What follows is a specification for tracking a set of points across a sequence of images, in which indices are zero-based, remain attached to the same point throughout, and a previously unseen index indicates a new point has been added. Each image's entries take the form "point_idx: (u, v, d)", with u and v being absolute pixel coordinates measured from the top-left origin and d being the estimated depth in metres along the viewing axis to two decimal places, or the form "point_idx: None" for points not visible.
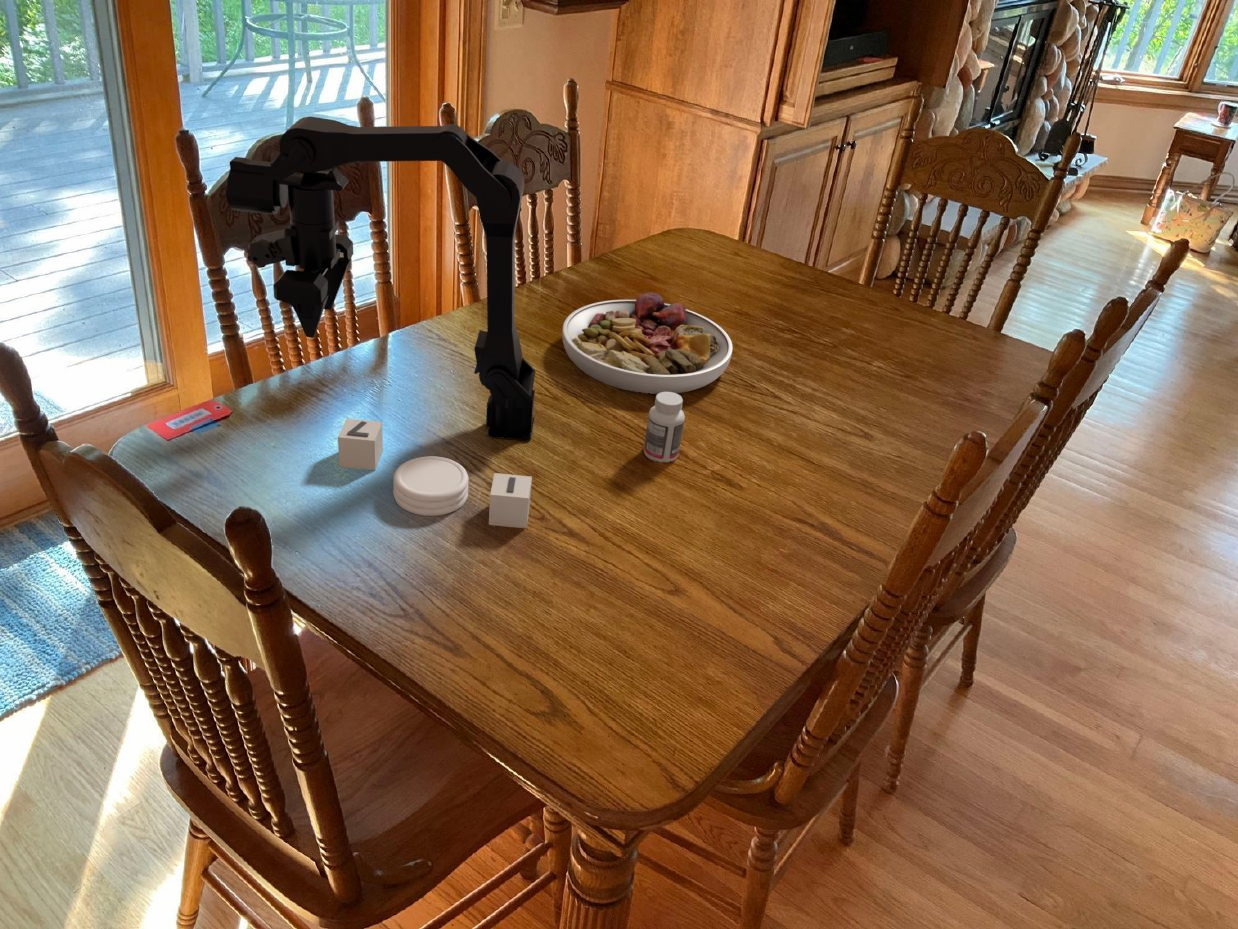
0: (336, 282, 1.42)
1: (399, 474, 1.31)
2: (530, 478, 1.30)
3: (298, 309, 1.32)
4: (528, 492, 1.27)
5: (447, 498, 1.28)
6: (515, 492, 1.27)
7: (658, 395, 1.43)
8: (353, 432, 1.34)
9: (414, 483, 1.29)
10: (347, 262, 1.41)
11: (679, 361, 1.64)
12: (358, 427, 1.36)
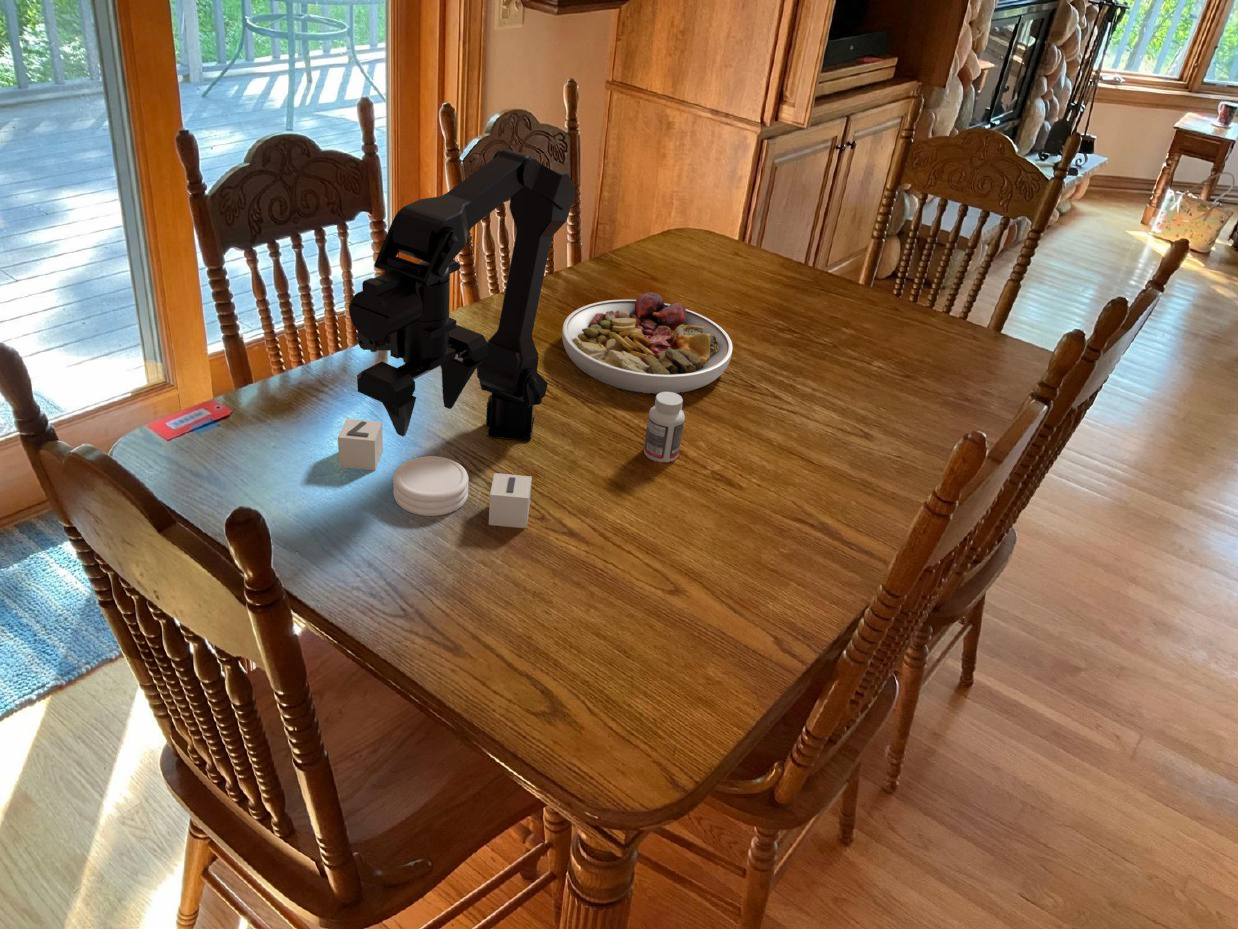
0: (458, 382, 1.28)
1: (399, 474, 1.31)
2: (530, 478, 1.30)
3: (386, 405, 1.21)
4: (528, 492, 1.27)
5: (447, 498, 1.28)
6: (514, 492, 1.27)
7: (658, 395, 1.43)
8: (353, 432, 1.34)
9: (414, 483, 1.29)
10: (474, 364, 1.27)
11: (679, 361, 1.64)
12: (358, 427, 1.36)
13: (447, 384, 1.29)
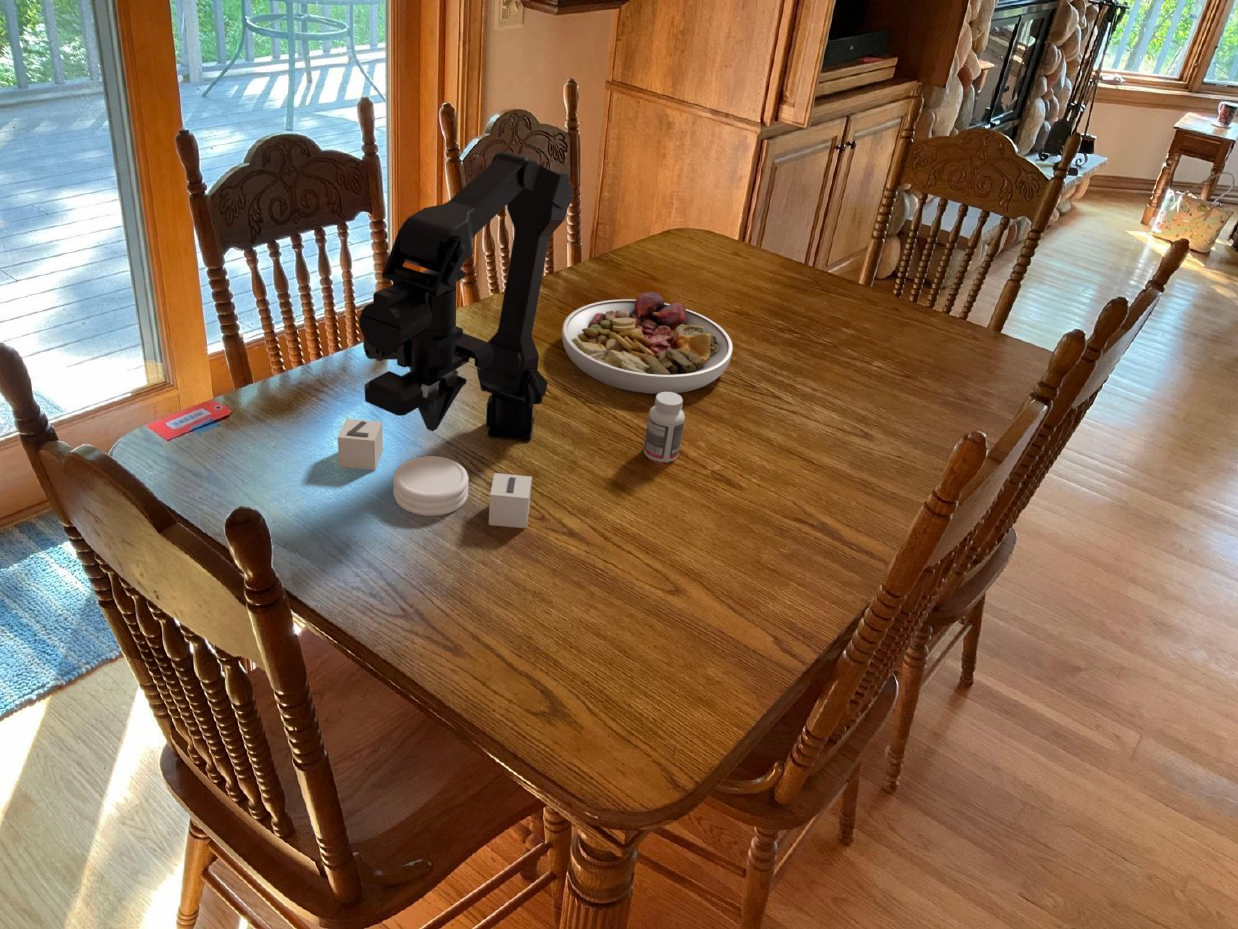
0: None
1: (399, 474, 1.31)
2: (530, 478, 1.30)
3: None
4: (528, 492, 1.27)
5: (447, 498, 1.28)
6: (515, 492, 1.27)
7: (658, 395, 1.43)
8: (353, 432, 1.34)
9: (414, 483, 1.29)
10: (459, 384, 1.24)
11: (679, 361, 1.64)
12: (358, 427, 1.36)
13: None
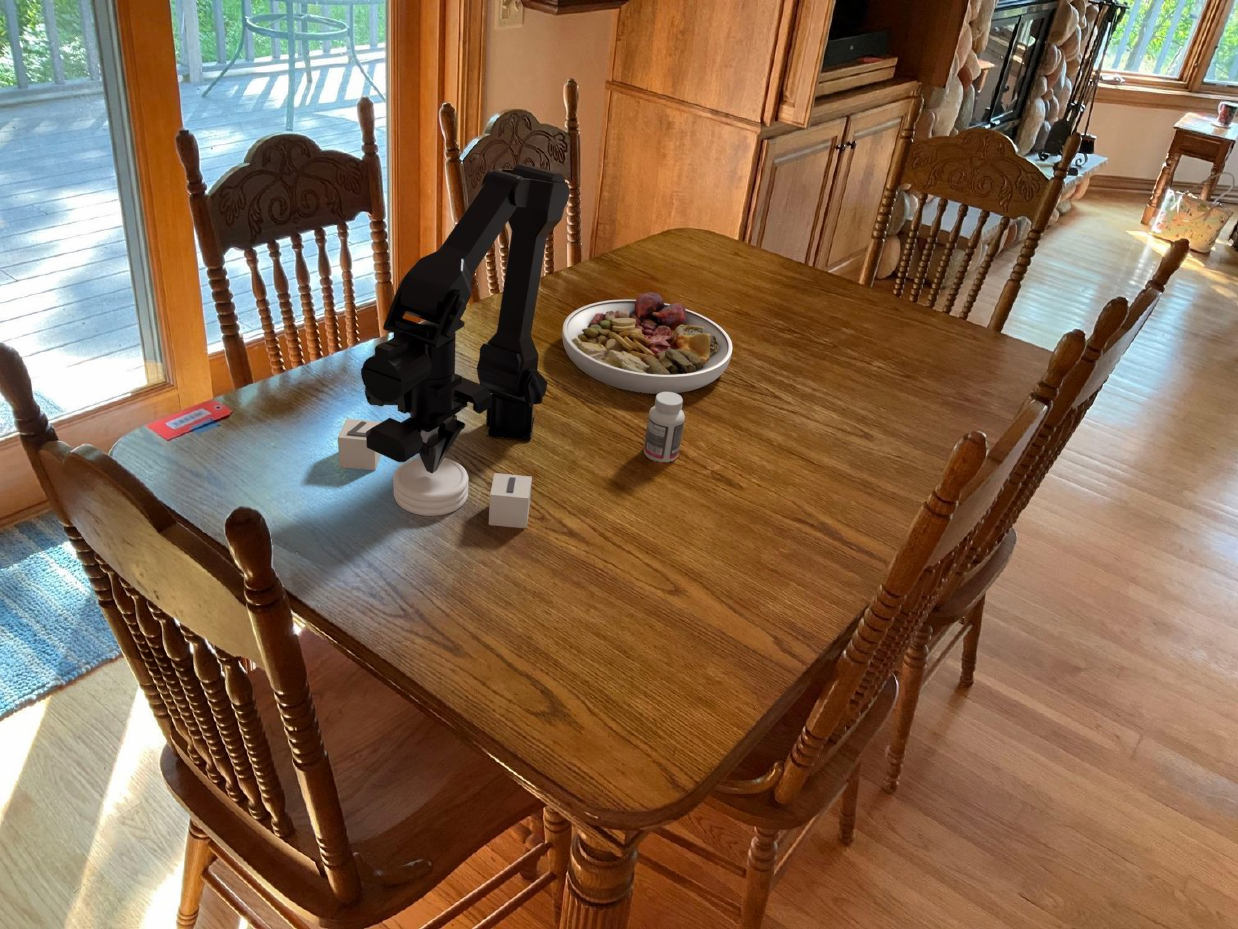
0: (442, 446, 1.28)
1: (399, 474, 1.31)
2: (530, 478, 1.30)
3: None
4: (528, 492, 1.27)
5: (447, 498, 1.28)
6: (515, 492, 1.27)
7: (658, 395, 1.43)
8: (353, 432, 1.34)
9: (414, 483, 1.29)
10: (458, 428, 1.27)
11: (679, 361, 1.64)
12: (358, 427, 1.36)
13: None
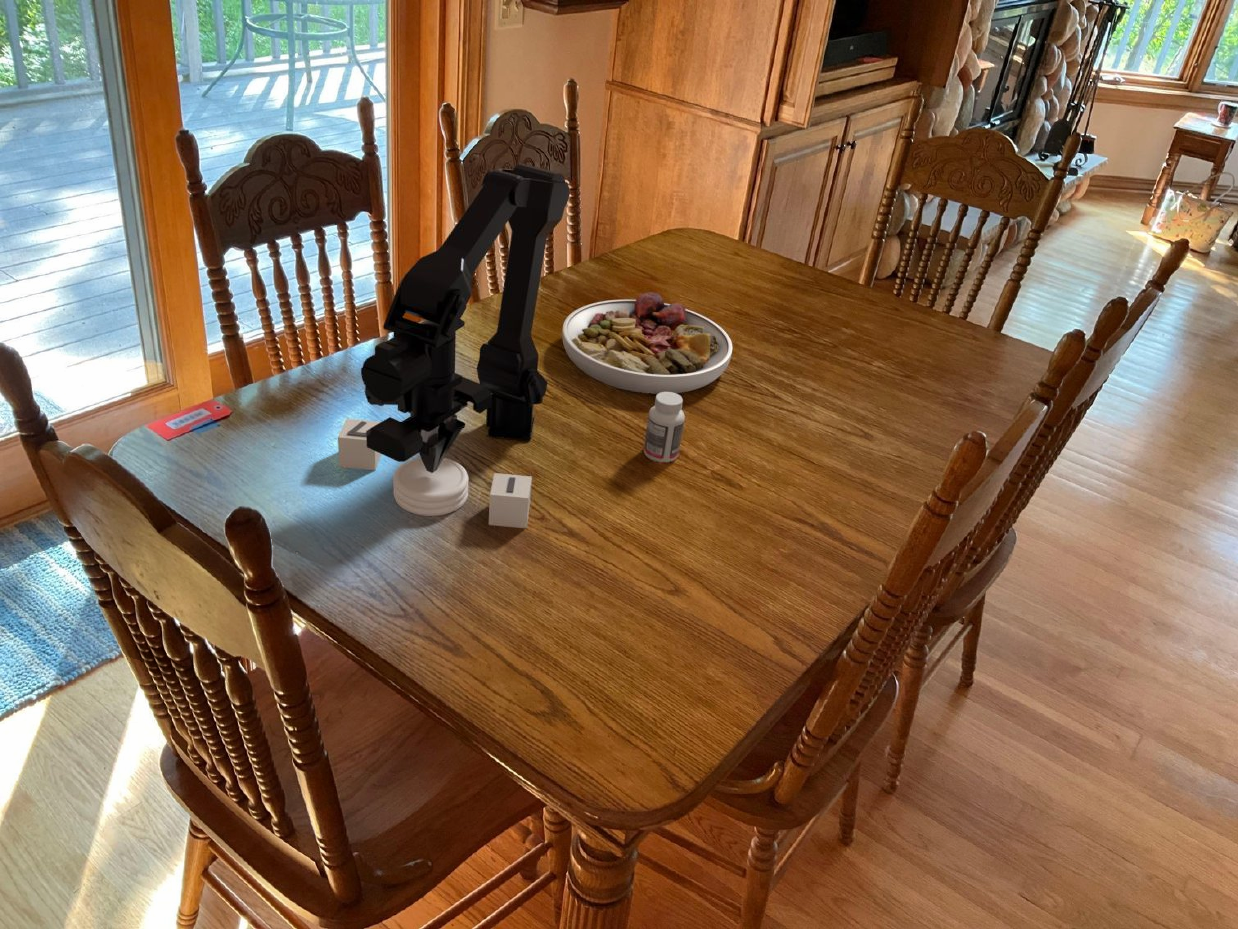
0: (442, 446, 1.28)
1: (399, 474, 1.31)
2: (530, 478, 1.30)
3: None
4: (528, 492, 1.27)
5: (447, 498, 1.28)
6: (514, 492, 1.27)
7: (658, 395, 1.43)
8: (353, 432, 1.34)
9: (414, 483, 1.29)
10: (458, 428, 1.27)
11: (679, 361, 1.64)
12: (358, 427, 1.36)
13: None
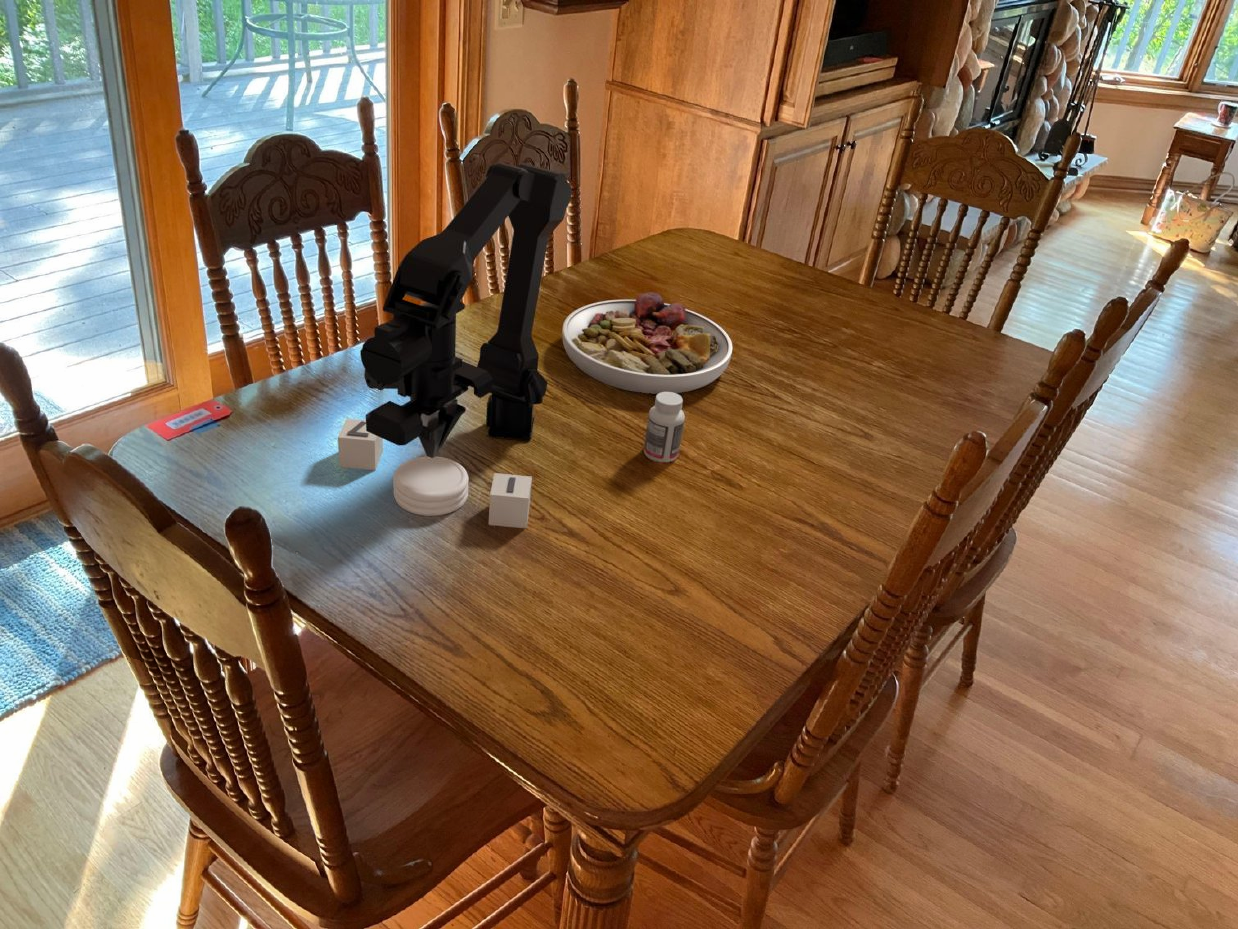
0: None
1: (399, 474, 1.31)
2: (530, 478, 1.30)
3: None
4: (528, 492, 1.27)
5: (447, 498, 1.28)
6: (514, 492, 1.27)
7: (658, 395, 1.43)
8: (353, 432, 1.34)
9: (414, 483, 1.29)
10: (458, 413, 1.26)
11: (679, 361, 1.64)
12: (358, 427, 1.36)
13: None
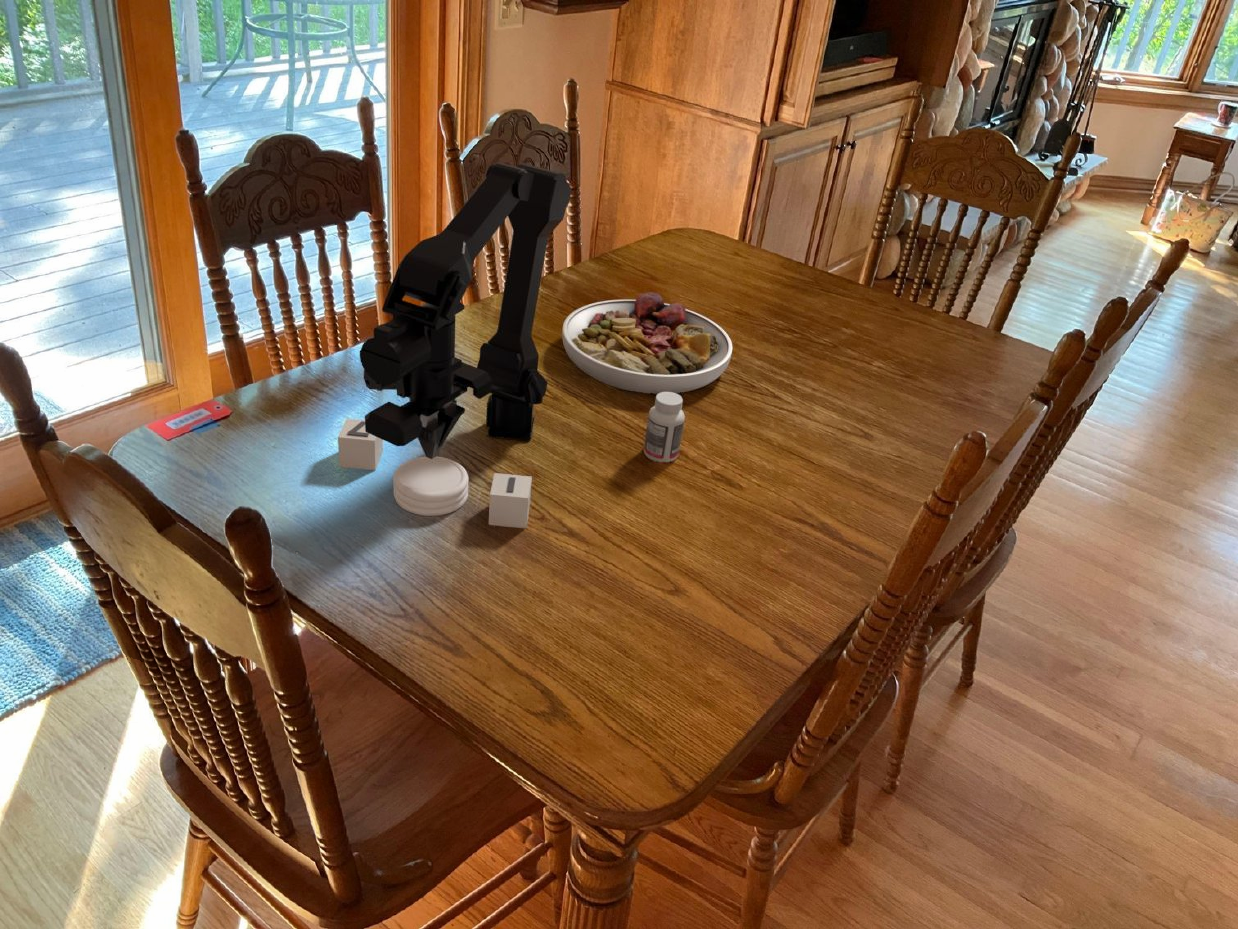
0: None
1: (399, 474, 1.31)
2: (530, 478, 1.30)
3: None
4: (528, 492, 1.27)
5: (447, 498, 1.28)
6: (514, 492, 1.27)
7: (658, 395, 1.43)
8: (353, 432, 1.34)
9: (414, 483, 1.29)
10: (457, 413, 1.26)
11: (679, 361, 1.64)
12: (358, 427, 1.36)
13: None
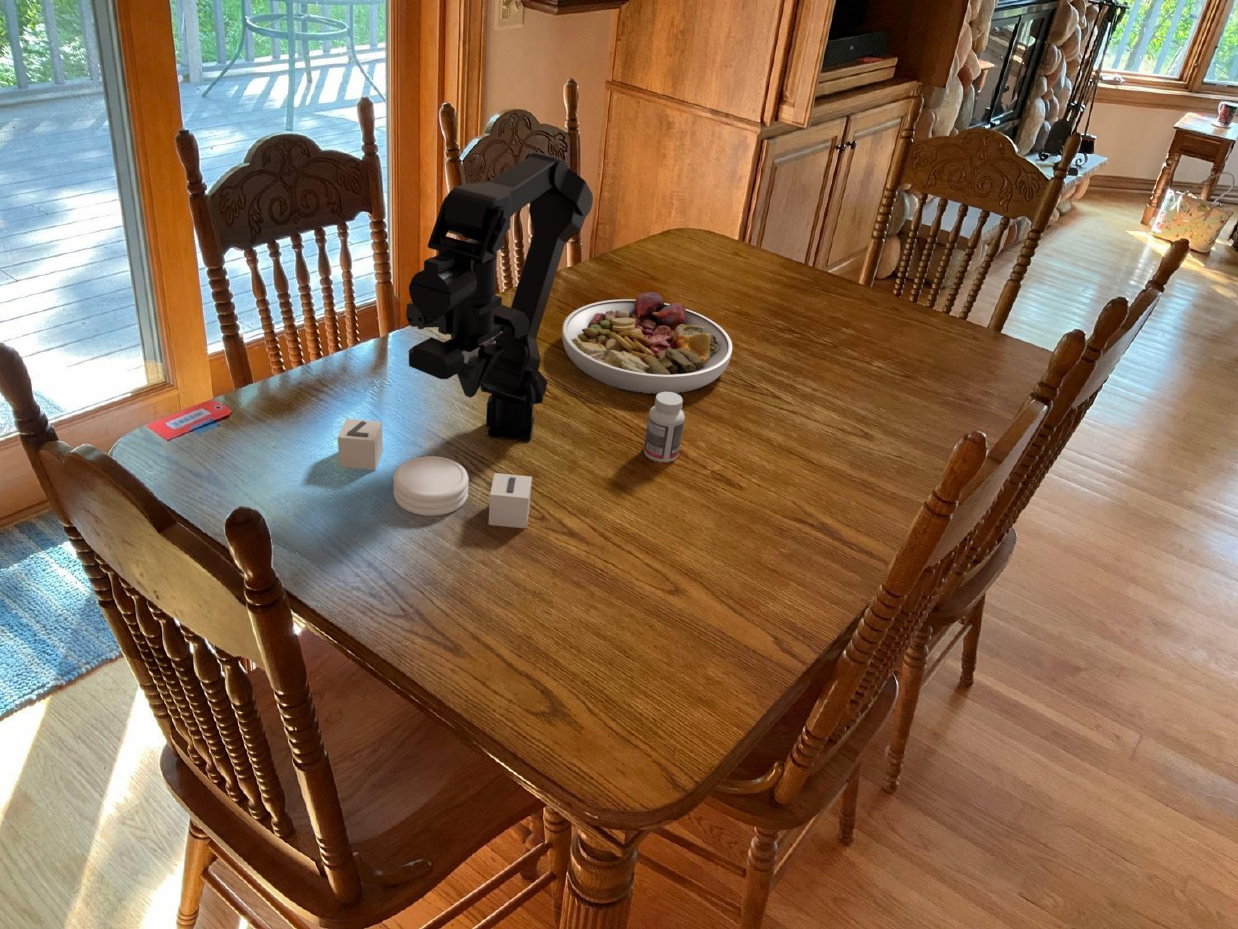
0: (481, 369, 1.30)
1: (399, 474, 1.31)
2: (530, 478, 1.30)
3: None
4: (528, 492, 1.27)
5: (447, 498, 1.28)
6: (514, 492, 1.27)
7: (658, 395, 1.43)
8: (353, 432, 1.34)
9: (414, 483, 1.29)
10: (497, 351, 1.29)
11: (679, 361, 1.64)
12: (358, 427, 1.36)
13: None
